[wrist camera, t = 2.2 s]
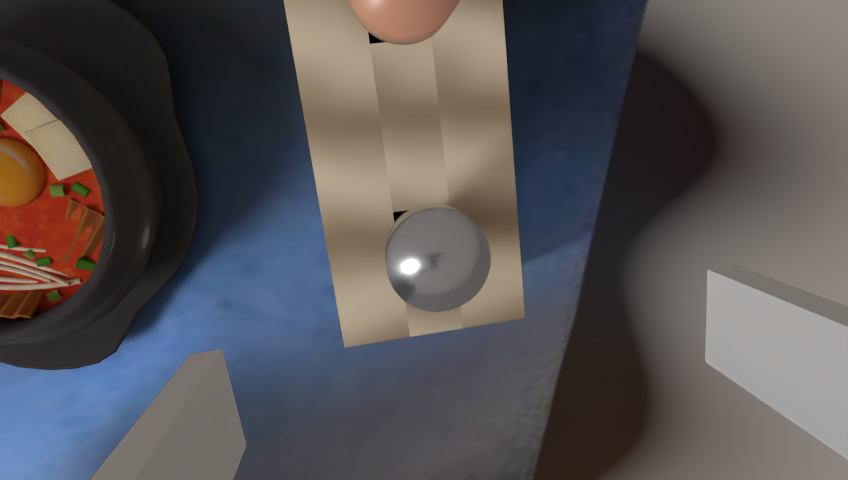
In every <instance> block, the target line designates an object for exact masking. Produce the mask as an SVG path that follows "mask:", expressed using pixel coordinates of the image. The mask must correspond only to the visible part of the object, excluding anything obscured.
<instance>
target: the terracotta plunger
mask: <svg viewBox="0 0 848 480" xmlns="http://www.w3.org/2000/svg"><path fill="white" fill-rule="evenodd" d="M348 1H349V4H350V7H351V9H352V11H353V13H354V15H355V17H356V18H357V20H358V21H359V22H360V24H361V25H362V26H363V27H364V28H365V29H366V30H367V31H368V32H369V33H371V34H372V35H373V36H375V37H376V38H377V39H378V40H379V41H380V42H381V43H383V42H387V43H391V44H397V45H410V44H416V43H419V42H422V41H424V40H426V39H428V38H430V37H431V36H433V35H434V34H435V33H436V32H437V31H439V30H440V29H441V27H442V26H443V25H444V24H445V22H446V21H447V20H448V18H449V17H450V15H451V14H452V13H453V11H454V9H455V8H456V6H457V4H458V2H459V0H348Z"/></svg>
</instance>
